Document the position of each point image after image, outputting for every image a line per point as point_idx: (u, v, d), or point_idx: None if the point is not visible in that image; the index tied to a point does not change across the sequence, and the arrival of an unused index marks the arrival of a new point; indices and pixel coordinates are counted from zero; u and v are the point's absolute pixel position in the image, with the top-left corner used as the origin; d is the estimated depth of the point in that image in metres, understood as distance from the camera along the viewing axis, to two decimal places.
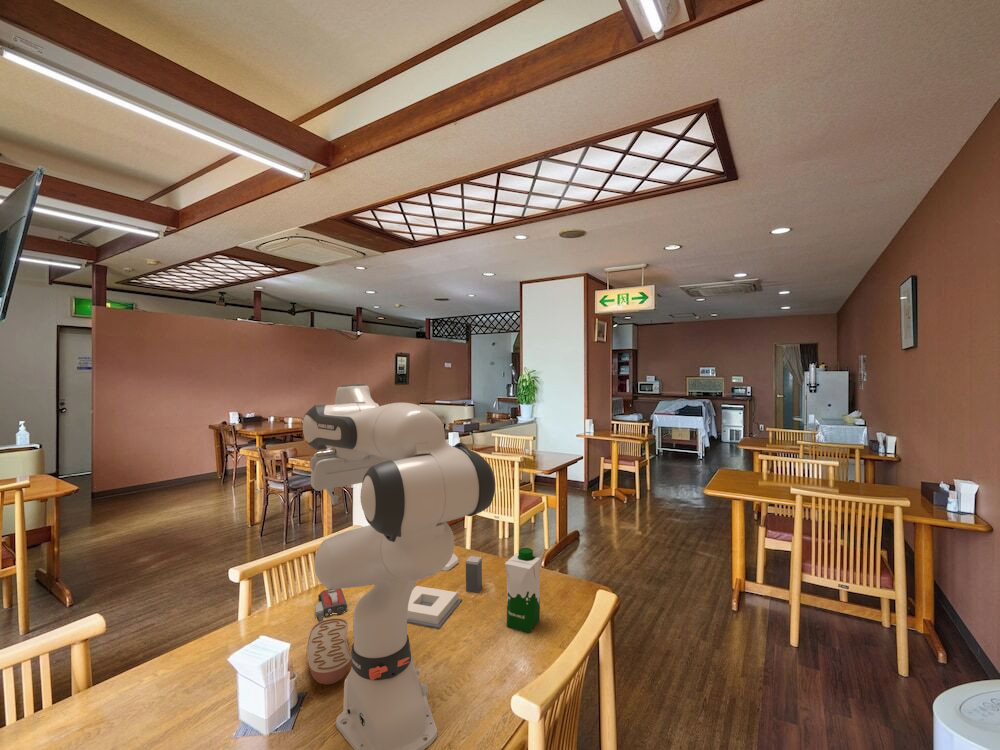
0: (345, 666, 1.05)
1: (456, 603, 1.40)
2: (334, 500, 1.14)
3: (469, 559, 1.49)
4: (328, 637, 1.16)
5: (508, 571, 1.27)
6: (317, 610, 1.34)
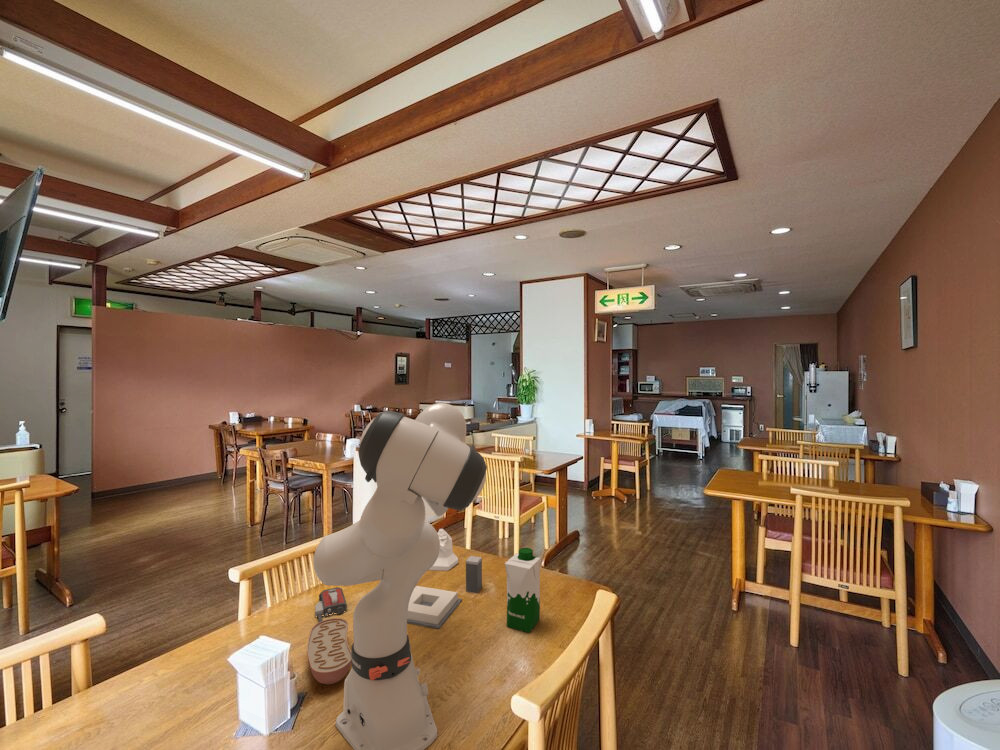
0: (346, 666, 1.05)
1: (456, 603, 1.40)
2: None
3: (469, 559, 1.49)
4: (328, 637, 1.16)
5: (508, 571, 1.27)
6: (317, 610, 1.34)
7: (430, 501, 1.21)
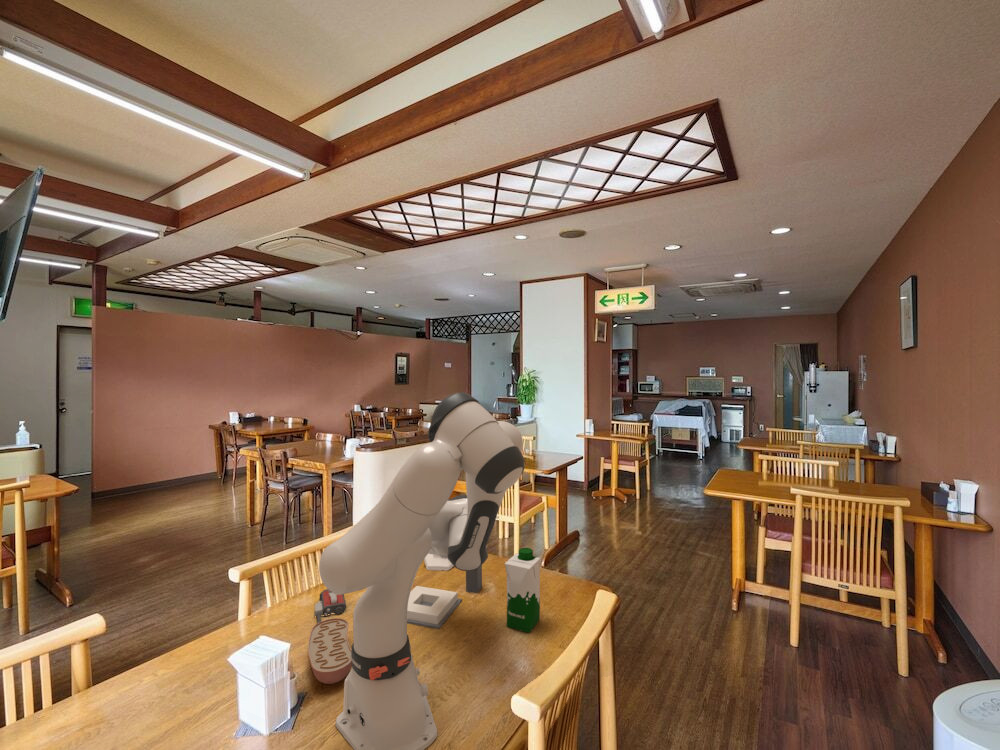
0: (348, 665, 1.05)
1: (456, 603, 1.40)
2: None
3: None
4: (329, 637, 1.16)
5: (508, 571, 1.27)
6: (316, 609, 1.34)
7: None
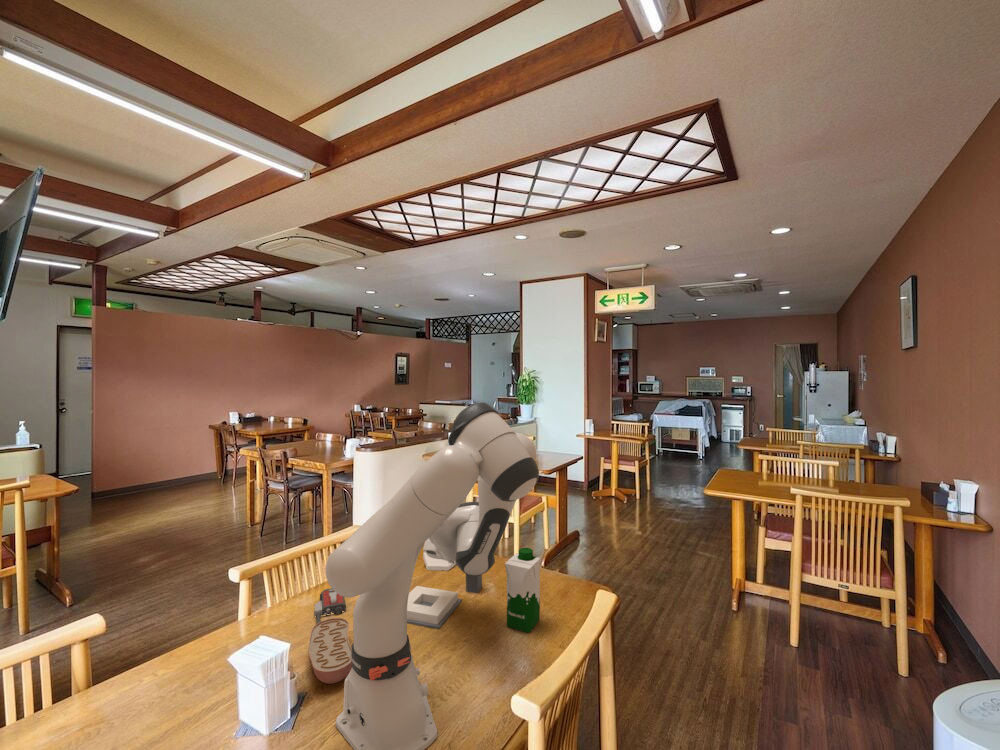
0: (349, 665, 1.05)
1: (456, 603, 1.40)
2: None
3: None
4: (329, 637, 1.16)
5: (508, 571, 1.27)
6: (316, 609, 1.34)
7: None
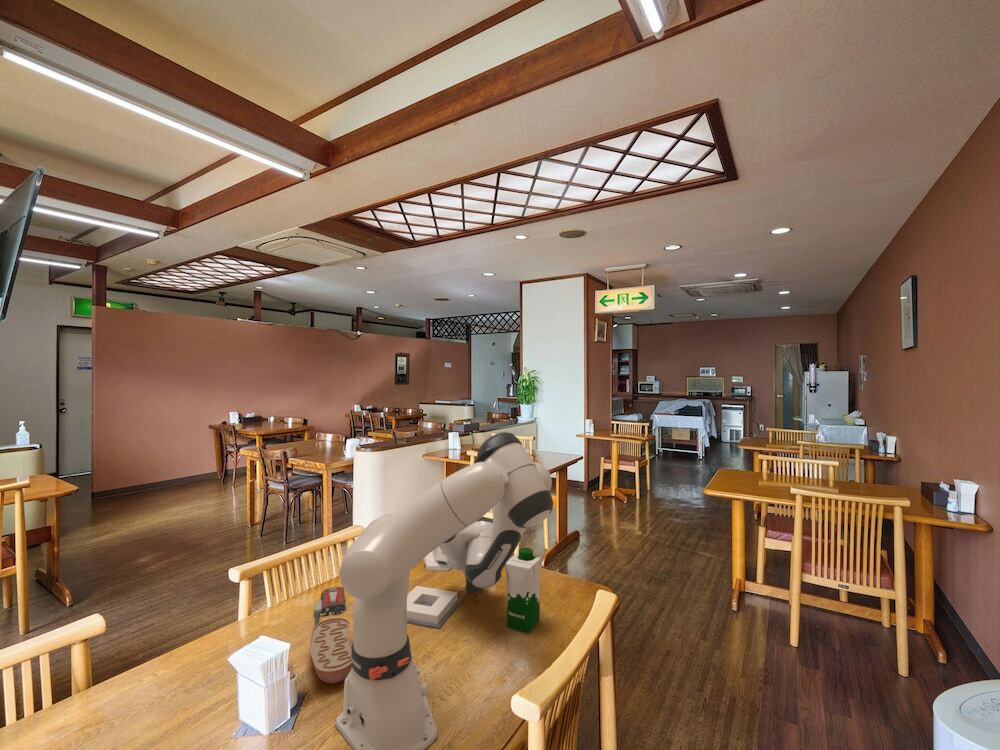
0: (351, 664, 1.06)
1: (456, 603, 1.40)
2: None
3: None
4: (330, 636, 1.17)
5: (508, 571, 1.27)
6: (315, 609, 1.35)
7: None
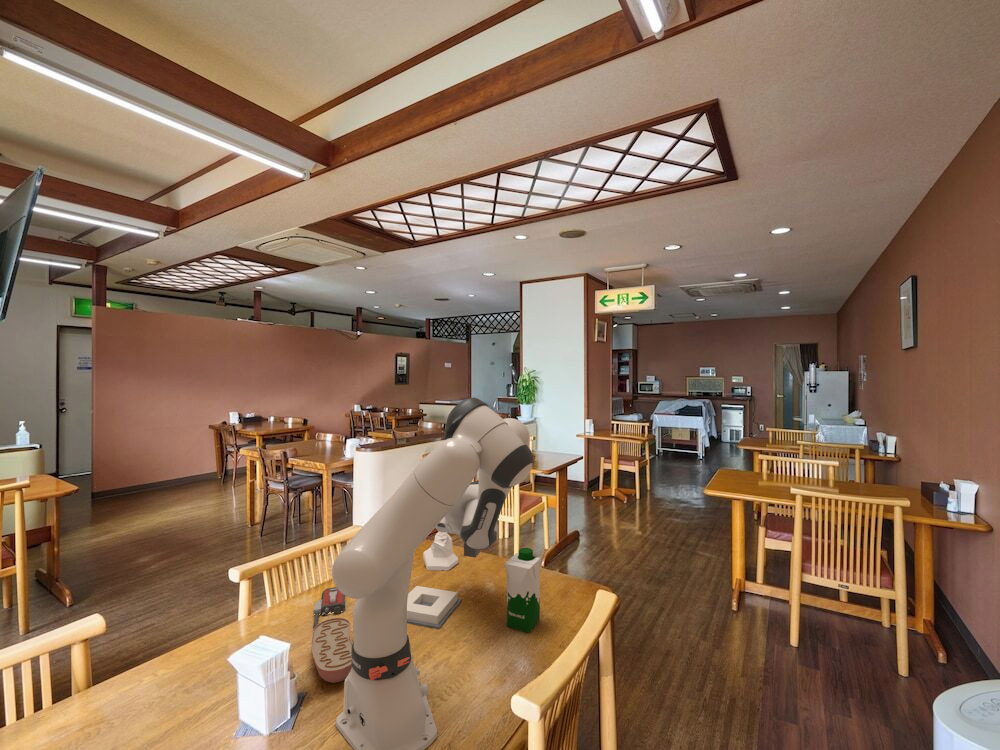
0: None
1: (456, 603, 1.40)
2: None
3: None
4: (331, 636, 1.17)
5: (508, 571, 1.27)
6: (315, 608, 1.35)
7: None
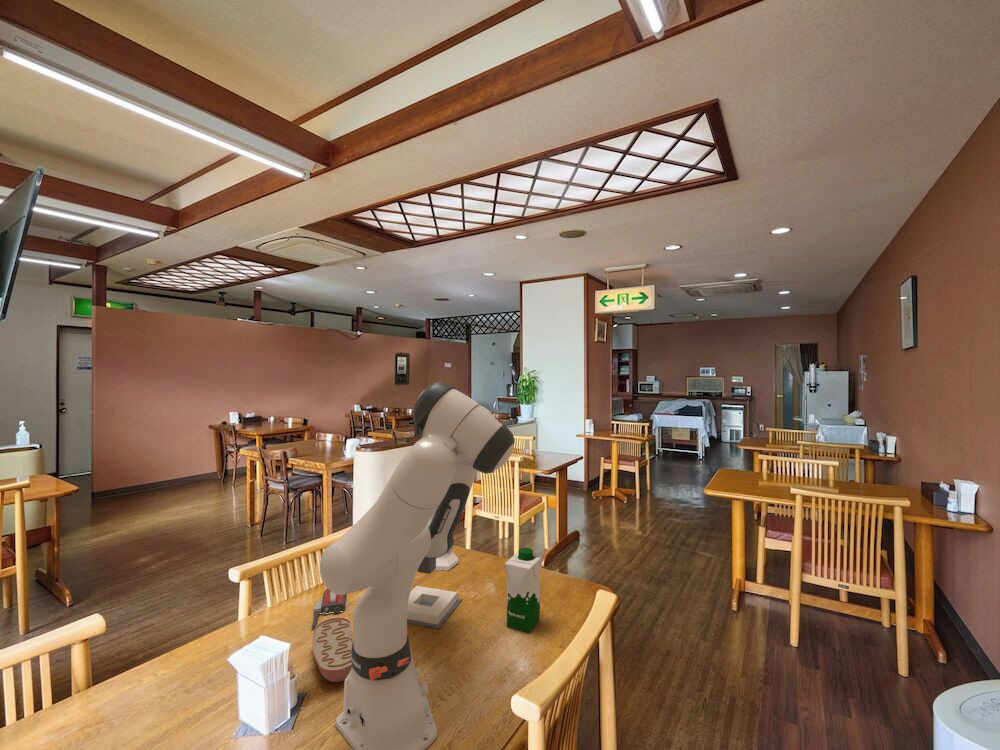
0: None
1: (456, 603, 1.40)
2: None
3: None
4: (332, 636, 1.17)
5: (508, 571, 1.27)
6: (315, 607, 1.35)
7: None
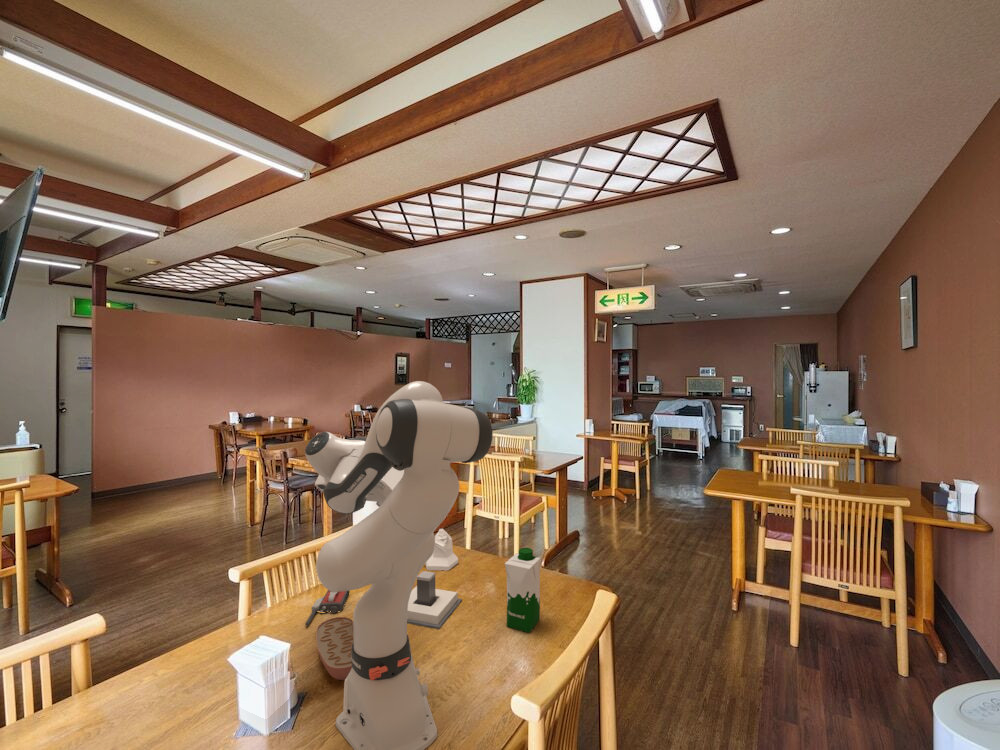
0: None
1: (456, 603, 1.40)
2: None
3: (421, 575, 1.37)
4: (336, 635, 1.17)
5: (508, 571, 1.27)
6: (314, 605, 1.37)
7: (377, 488, 1.21)
